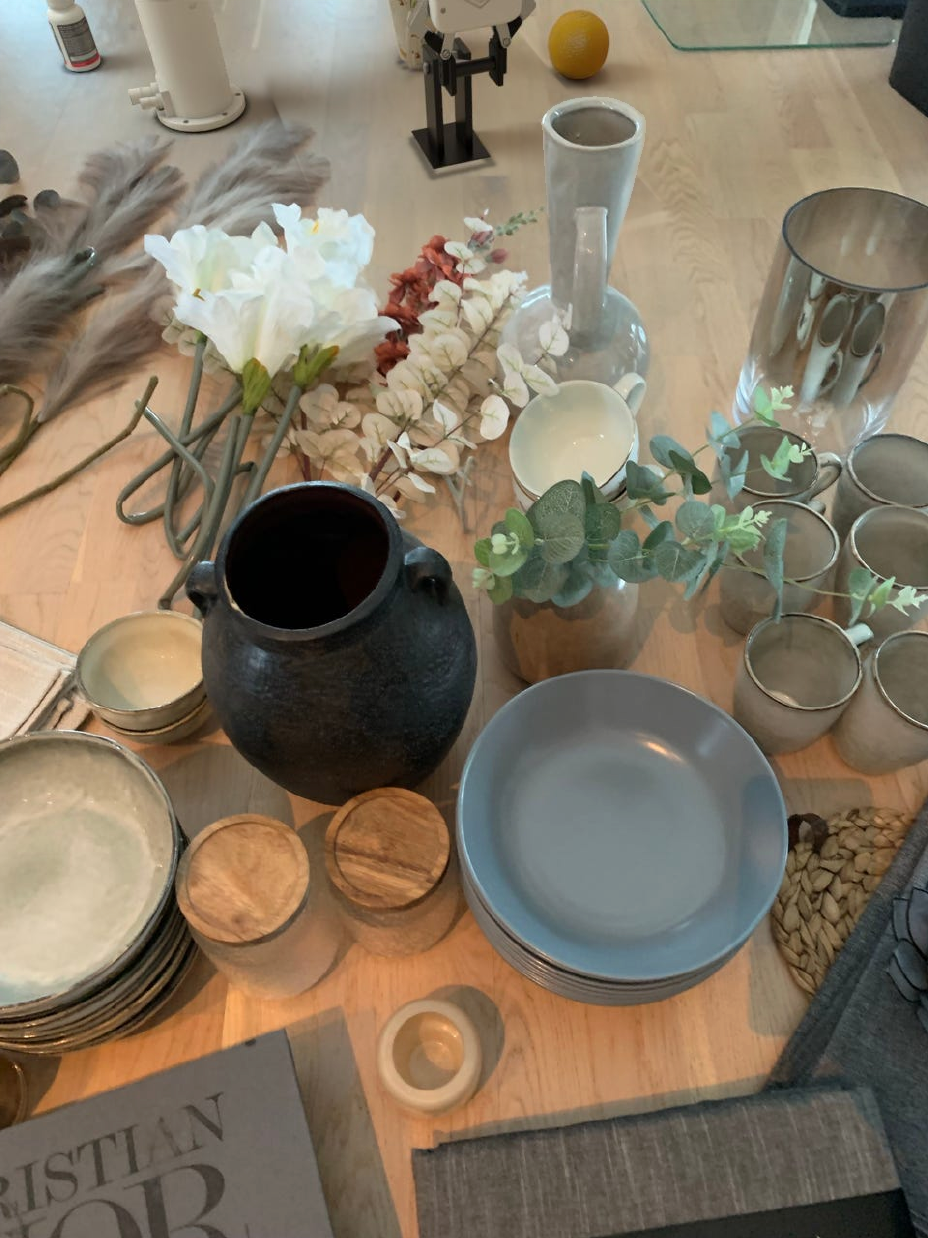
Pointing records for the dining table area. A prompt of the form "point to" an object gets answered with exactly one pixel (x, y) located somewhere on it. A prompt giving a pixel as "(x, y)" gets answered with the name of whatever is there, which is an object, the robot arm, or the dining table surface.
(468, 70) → the lever
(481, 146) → the black lever stand
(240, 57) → the dining table surface
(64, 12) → the pill bottle
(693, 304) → the dining table surface
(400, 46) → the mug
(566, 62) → the fruit
